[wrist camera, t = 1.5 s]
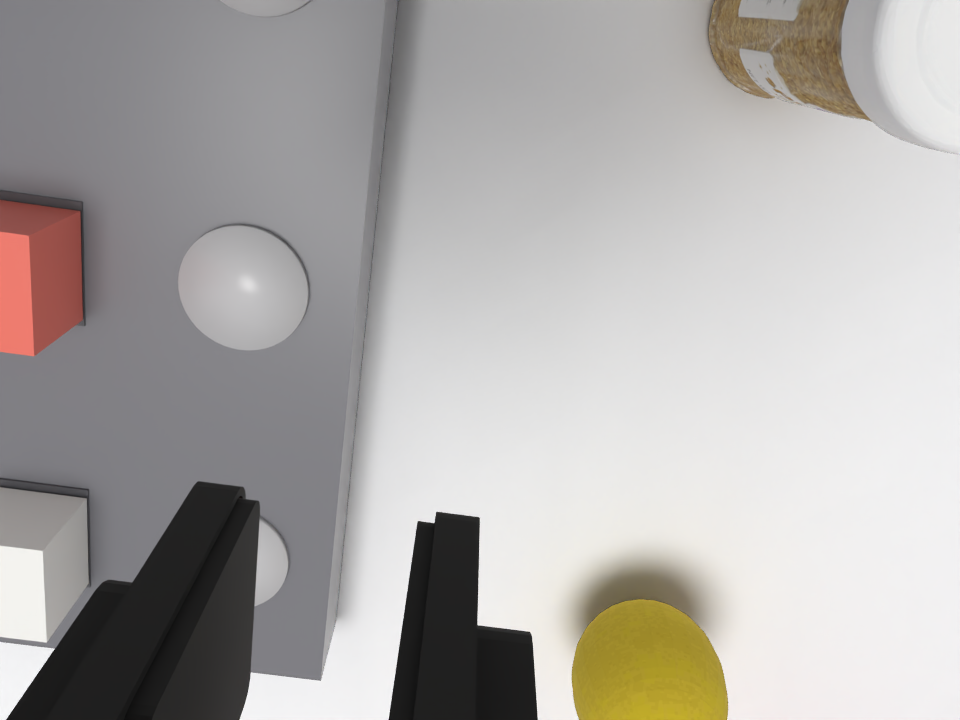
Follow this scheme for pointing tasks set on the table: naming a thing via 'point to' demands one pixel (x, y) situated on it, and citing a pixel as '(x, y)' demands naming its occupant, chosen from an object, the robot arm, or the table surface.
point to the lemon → (647, 667)
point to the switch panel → (201, 276)
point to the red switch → (38, 275)
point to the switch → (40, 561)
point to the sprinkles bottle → (850, 60)
